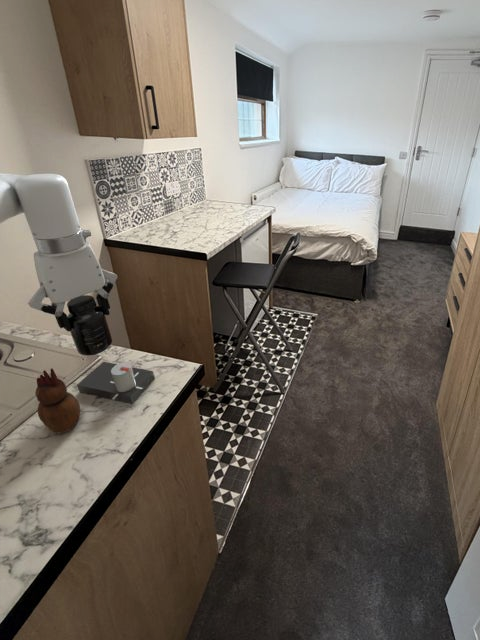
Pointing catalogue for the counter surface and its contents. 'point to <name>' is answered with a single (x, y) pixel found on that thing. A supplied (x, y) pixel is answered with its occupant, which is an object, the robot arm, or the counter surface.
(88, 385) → the hob
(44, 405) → the wooden figurine
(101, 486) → the counter surface
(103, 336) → the supplement bottle
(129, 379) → the hob knob
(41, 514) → the counter surface
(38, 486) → the counter surface
